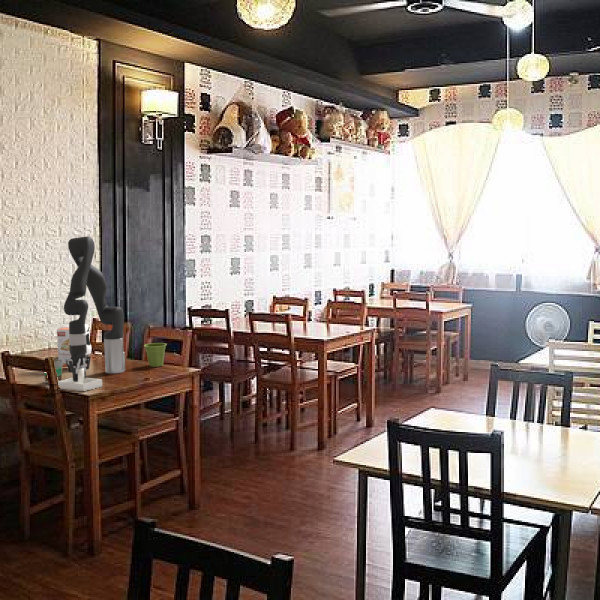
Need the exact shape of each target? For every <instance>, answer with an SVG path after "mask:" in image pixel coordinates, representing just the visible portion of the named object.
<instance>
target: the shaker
mask: <svg viewBox="0 0 600 600" xmlns="http://www.w3.org/2000/svg"><path fill="white" fill-rule="evenodd" d="M75 367H76V366H75ZM74 371H75V370H74ZM77 373H78V381H77V382H75V383H80V384H83V383H85V380H84V366H83V365H80V366H79V369H78V372H77Z"/></svg>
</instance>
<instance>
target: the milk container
mask: <svg viewBox="0 0 600 600" xmlns="http://www.w3.org/2000/svg"><path fill="white" fill-rule="evenodd" d="M89 326H90V325H89V324H86V323H85V335H86V346H87V353H86V356H88V355H89V356H90V355H91V354H92V345H91V341H90V327H89ZM60 328H69V324H63V325H60ZM60 328H59V329H60Z"/></svg>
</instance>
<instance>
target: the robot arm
mask: <svg viewBox="0 0 600 600" xmlns="http://www.w3.org/2000/svg"><path fill="white" fill-rule="evenodd" d="M67 246H68V251H69V253H70V255H71V257H72V259H73V261H74V263H75V264H76V266H77V268H76V269H75V271H74V272H73V275H72V276H71V278H70V279H71V280H70V288H69V292H68V295H67V298H66V299H65V302H64V304H63V311H64V314H65V315H67V316H78V317H79V318H78V319H74V320H70V321H69V323H68V325H69V350H70V354H71V359H70V360H69V361H66V364H67V367H68V369H67V370H68V373H71V374H72V378H73V381H74V382H77V381H78V373H77V372H78V369H79V366H80V365H83V366H84V380H85V379H86V378H87V377H86V375H87V374H86V373H87V371H88V370H89V369H90V363H91V359H92V358H91V356H90V355H89V356H86V354H85V353H87V346H86V335H85V324H86V319H87V314H88V310H89V303H88V302H87V301H86V300H85V299H81V298H83V297H84V296H85V295H86V293H87V289H88V291H89V293H90V296H91V298H92V301H93V303H94V306H95V308H96V312H97V315H98V319H99V320H100V322H101V323H102V324H104V325H108V326H111V329H110V330H109V331H106V332H104V333H103V344H104V345H103V346H104V347H103V348H104V349H103V350H104V366H105V367H104V369H105V373H106V374H121V373H124V372H125V371H126V355H125V351H124V331H125V330H124V323H125V317H124V316H125V315H124V311H123V308H122V307H121V306H109V305H108V304H107V301H106V299H105V297H106V294H107V290H108V283H107V281H106V279H105V275H104V274H103V272H102V271H100V269H98V268H97V267H96V266H94V265H93V264H92V261H93V258H94V254H95V249H96V248H95V241H94V239H93V238H92V237H91V236H79V237H73V238H70V239H69V240H68V243H67ZM79 298H80V299H79ZM86 364H87V367H86ZM74 365H75V366H76V367H75V366H74ZM74 370H75V371H74Z"/></svg>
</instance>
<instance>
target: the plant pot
mask: <svg viewBox="0 0 600 600" xmlns="http://www.w3.org/2000/svg"><path fill="white" fill-rule="evenodd" d="M167 344H168V343H164V342H152V343H146V344H144V345H143V347H144V349H145V351H146V356H147V362H148V366H149V367H152V368H155V367H156V368H159V367H163V366H164V360H165V354H166V353H165V350H166V347H167Z"/></svg>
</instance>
